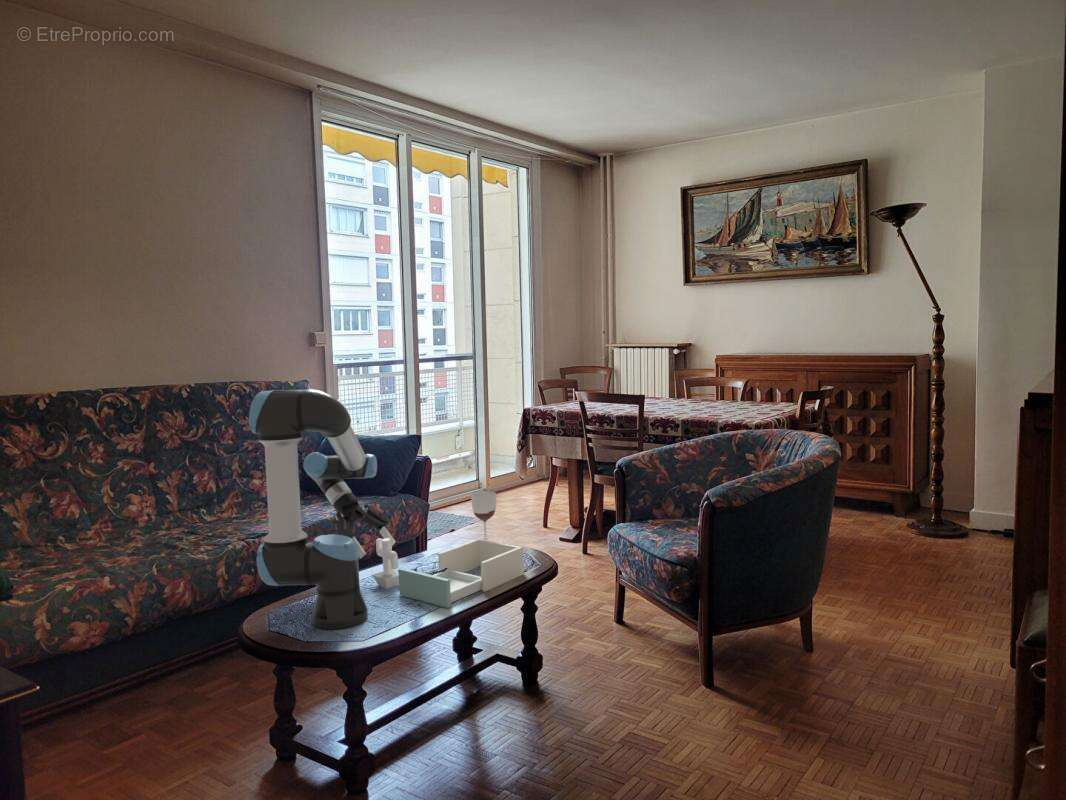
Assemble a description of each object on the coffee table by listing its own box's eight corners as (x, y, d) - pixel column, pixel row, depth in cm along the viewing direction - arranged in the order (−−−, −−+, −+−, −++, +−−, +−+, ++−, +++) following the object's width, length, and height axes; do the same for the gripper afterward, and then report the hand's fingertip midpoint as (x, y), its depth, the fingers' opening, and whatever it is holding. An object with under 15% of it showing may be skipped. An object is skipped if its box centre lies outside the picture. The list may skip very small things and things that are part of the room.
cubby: (484, 591, 235) (483, 562, 234) (439, 580, 247) (438, 553, 246) (523, 574, 250) (522, 547, 249) (479, 564, 262) (478, 538, 261)
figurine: (387, 591, 238) (385, 544, 236) (370, 585, 244) (367, 538, 243) (406, 585, 243) (404, 539, 241) (389, 579, 250) (387, 533, 248)
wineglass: (470, 559, 268) (468, 497, 266) (477, 551, 277) (474, 491, 275) (495, 559, 267) (493, 497, 264) (501, 551, 276) (498, 491, 274)
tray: (447, 607, 222) (446, 580, 221) (399, 594, 234) (398, 569, 233) (491, 588, 237) (490, 563, 236) (443, 577, 249) (442, 553, 248)
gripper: (364, 498, 265) (399, 546, 259) (307, 514, 244) (343, 567, 238) (374, 484, 262) (410, 533, 255) (318, 499, 241) (355, 553, 234)
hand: (378, 550), depth 246 cm, fingers open, 13 cm apart
